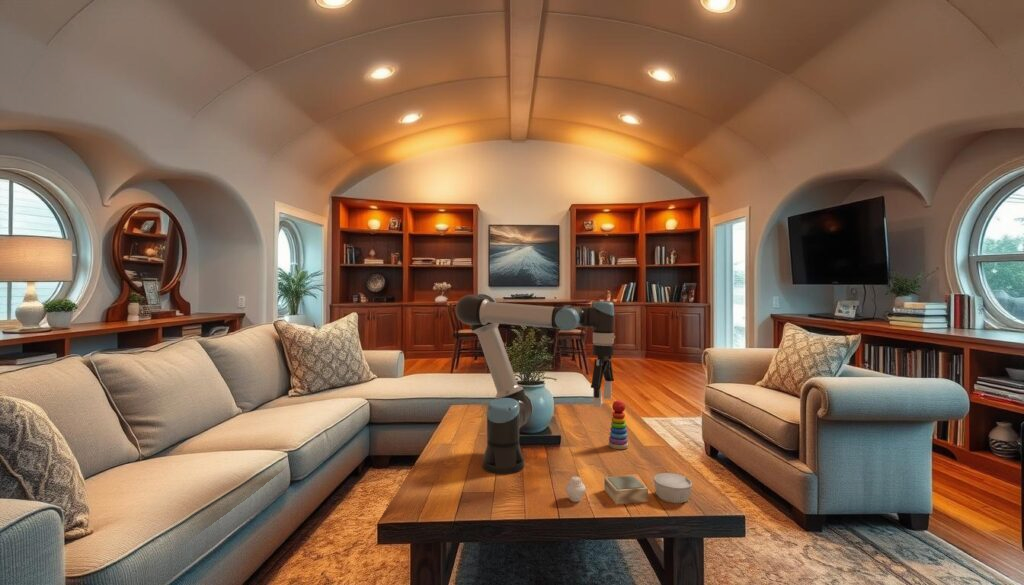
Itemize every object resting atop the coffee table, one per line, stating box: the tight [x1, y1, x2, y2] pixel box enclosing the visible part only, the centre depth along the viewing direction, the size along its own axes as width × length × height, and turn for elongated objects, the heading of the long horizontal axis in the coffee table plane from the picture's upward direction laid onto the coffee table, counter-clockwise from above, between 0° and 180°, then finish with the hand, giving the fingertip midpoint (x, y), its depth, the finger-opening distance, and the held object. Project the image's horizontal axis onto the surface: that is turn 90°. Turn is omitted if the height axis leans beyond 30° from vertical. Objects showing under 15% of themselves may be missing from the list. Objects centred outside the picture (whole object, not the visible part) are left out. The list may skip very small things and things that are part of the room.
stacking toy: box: [608, 399, 629, 450], centre depth 188 cm, size 8×8×19 cm
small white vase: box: [565, 476, 587, 503], centre depth 141 cm, size 6×6×7 cm
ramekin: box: [653, 472, 693, 504], centre depth 143 cm, size 11×11×5 cm
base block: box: [603, 474, 649, 505], centre depth 143 cm, size 10×10×4 cm
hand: (602, 402), depth 169 cm, fingers open, 13 cm apart
